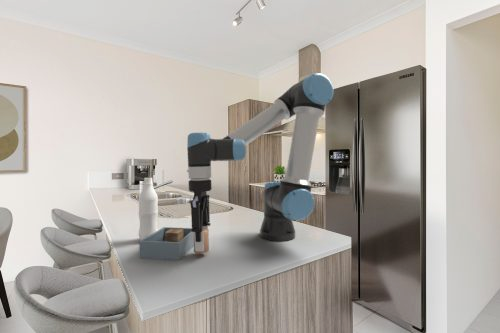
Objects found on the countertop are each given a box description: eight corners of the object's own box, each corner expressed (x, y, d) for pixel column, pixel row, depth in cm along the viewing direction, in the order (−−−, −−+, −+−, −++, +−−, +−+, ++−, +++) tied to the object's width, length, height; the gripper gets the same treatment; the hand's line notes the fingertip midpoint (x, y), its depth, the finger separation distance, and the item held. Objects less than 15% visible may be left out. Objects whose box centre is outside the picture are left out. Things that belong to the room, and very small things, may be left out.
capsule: (210, 248, 88) (210, 228, 87) (206, 253, 83) (206, 232, 82) (196, 247, 88) (196, 227, 88) (191, 253, 83) (191, 232, 83)
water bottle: (151, 243, 96) (151, 178, 96) (134, 242, 98) (134, 178, 97) (161, 238, 103) (161, 177, 103) (145, 237, 105) (145, 177, 104)
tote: (197, 242, 98) (197, 228, 98) (179, 260, 81) (179, 243, 81) (163, 240, 100) (163, 227, 100) (139, 257, 83) (139, 241, 82)
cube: (183, 242, 97) (183, 229, 97) (177, 246, 92) (177, 233, 92) (171, 241, 98) (171, 228, 97) (164, 246, 93) (164, 232, 92)
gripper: (197, 177, 94) (199, 239, 95) (178, 181, 76) (181, 258, 77) (217, 176, 93) (219, 239, 94) (202, 181, 75) (205, 258, 76)
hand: (202, 247), depth 85 cm, fingers closed on capsule, 5 cm apart
